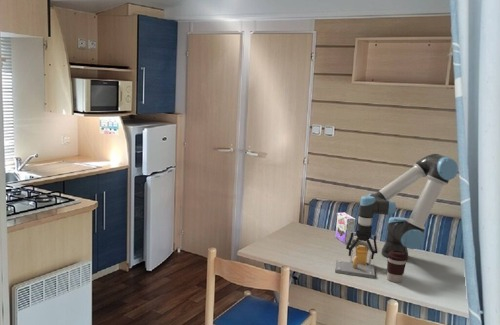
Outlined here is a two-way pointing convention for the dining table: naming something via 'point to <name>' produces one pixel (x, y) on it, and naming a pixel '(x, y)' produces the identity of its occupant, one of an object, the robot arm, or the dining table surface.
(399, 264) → the coffee cup
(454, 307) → the dining table surface
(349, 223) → the candy box
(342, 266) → the plate
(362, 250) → the wire nut
